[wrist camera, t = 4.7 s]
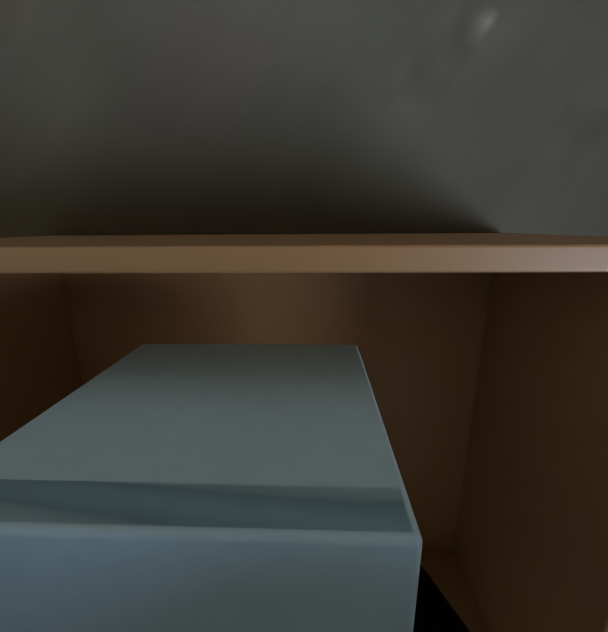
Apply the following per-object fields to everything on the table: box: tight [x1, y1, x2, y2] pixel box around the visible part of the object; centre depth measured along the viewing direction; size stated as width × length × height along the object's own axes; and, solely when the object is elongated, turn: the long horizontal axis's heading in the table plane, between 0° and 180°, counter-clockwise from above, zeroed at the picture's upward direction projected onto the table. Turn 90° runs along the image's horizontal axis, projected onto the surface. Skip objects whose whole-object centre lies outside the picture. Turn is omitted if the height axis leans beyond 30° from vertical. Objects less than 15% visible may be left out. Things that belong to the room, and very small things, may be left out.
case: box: [0, 344, 423, 632], centre depth 6 cm, size 5×8×5 cm, turn 1°
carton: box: [0, 233, 608, 632], centre depth 10 cm, size 15×13×6 cm
